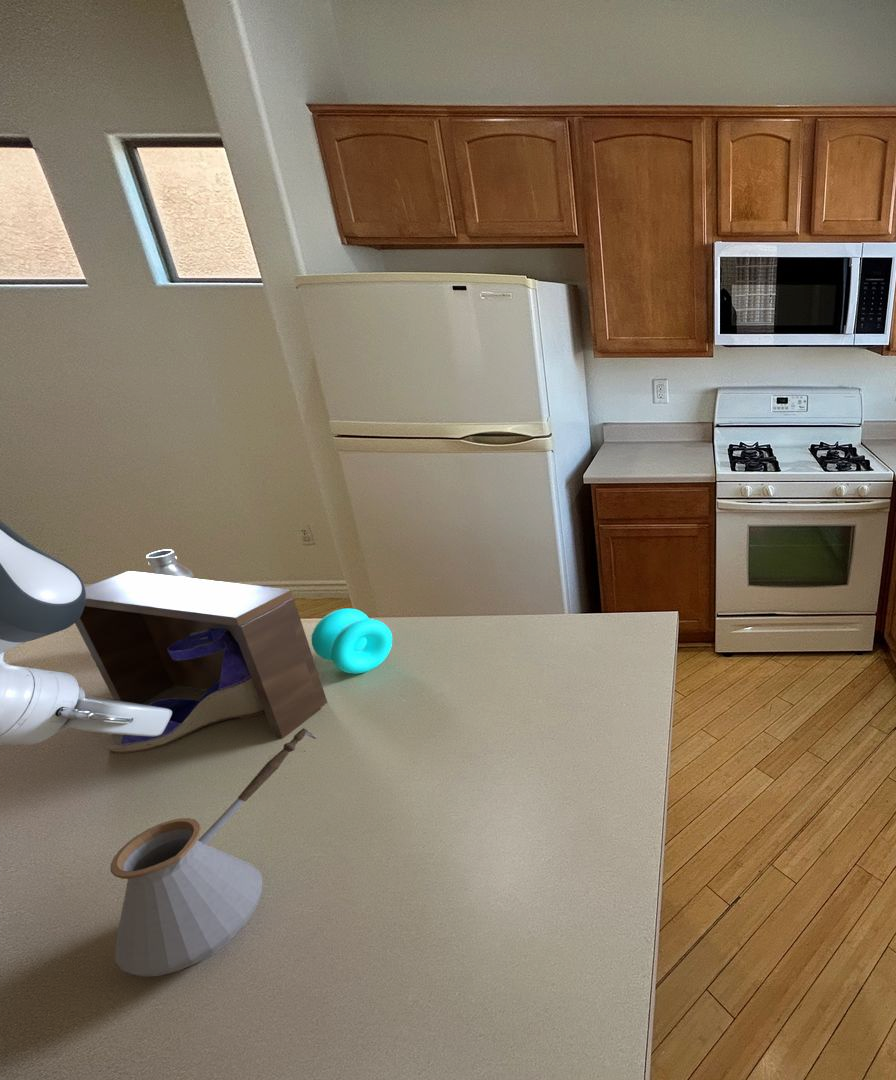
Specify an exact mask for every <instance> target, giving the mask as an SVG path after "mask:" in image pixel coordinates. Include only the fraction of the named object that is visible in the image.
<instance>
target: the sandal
mask: <svg viewBox="0 0 896 1080" xmlns="http://www.w3.org/2000/svg"><path fill="white" fill-rule="evenodd" d="M195 634H196V635H195ZM189 636H190V637H187V638H184V639H181V640H179V641H177V642H175V643H173V644H172V645H170V646H169V647H168V649H167V650H168V652H169V654H170V656H171V658H172V659H173V660H178V661H179V660H187V659H193V658H197V657H202V656H205V655H209V654H212V653H215V652H218V651H220V650H222V649H224V648H225V650H224V659H223V665H222V673H221V679H220V681H219V682H217V683H216V684H215V685H213V686H212V687H211V688H210V689H209V690H208V691H205V692H204V693H203V695H202V696H201V697H200V698H199V699H190V698H175V697H174V698H173V697H171V698H163V699H162V698H161V699H158V700H155V701H152V702H150V703H149V704H148V705H149V706H155V707H161V708H166V709H170V710H171V711H172V715H171V718H170V720H169V722H168V724H167V726H166V728H165V730H164V731H163V733H162V734H161V735H159V736H154V737H148V736H133V735H120V734H110V736H109V737H108V738H107V739H106V742H105V744H106V747H107V748H108V749H109V750H110V752H112V753H116V754H125V753H135V752H142V751H147V750H151V749H156V748H159V747H162V746H165V745H167V744H169V743H172V742H174V741H176V740H178V739H181V738H182V737H185V736H187V735H189V734H191V733H193V732H196V731H197V730H199V729H201V728H204V727H207V726H209V725H212V724H215V723H218V722H221V721H226V720H230V719H235V718H240V719H247V718H250V717H256V716H259V715H262V714H264V713H265V712H264V709H263V706H262V704H261V701H260V698H259V696H258V693H257V691H256V688H255V685H254V683H253V680H252V678H251V675H250V672H249V670H248V667H247V664H246V662H245V659H244V657H243V654H242V651H241V649H240V646H239V644H238V642H237V641H236V640H235V639H234V637H233V635H232V634H231V632H230V631H229V630H226V629H224V628H217V629H214V628H210V629H207V630H202V631H198V632H194V633H191V634H190V635H189ZM206 636H207V637H206ZM208 641H211V642H209V643H205V642H208ZM202 643H204V644H202ZM199 644H200V645H199ZM190 647H194V648H191V649H187V648H190ZM184 649H186V650H184Z"/></svg>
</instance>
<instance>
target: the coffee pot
mask: <svg viewBox="0 0 896 1080" xmlns="http://www.w3.org/2000/svg"><path fill="white" fill-rule="evenodd" d="M305 736H308V737H309V738H312V739H315V740H317V739H318V738H319V737H318V736H317V735H316V734H314V733H312V732H310V731H308V729H306V728H304V727H303V728H301V729H300V730H299V731H298V732H297V733H295V735H294V736H293V738H292V739H291V740H290V741H288V742H286V743H284V744H283V749H281V750H280V751H279V752H278V753H277V754H276V755H274V756H273V758H271V759H270V760H268V761H267V762H266V763H265V765H264V766H263V767H262V768H261V770H260V771H258V773H257V774H256V775H255V776H254V777H253V779H252V780H251V781H250V783H249V784H248V785H247V786H246V787H245V788H244V789H243V790H242V791H241V793H240V794H239V795H238V796H237V799H236V800H235V801H234V802H233V803H232V804H231V805H230V806H229V807H228V808H227V809H226V810H225V811H224V813H222V814H221V815H220V817H218V819H217V820H215V822H214V823H213V824H211V826H209V828H208V829H207V830H206V831H205V832H204V833H203V834H202V825H201V823H200V822H199V821H198V820H197V819H194V818H190V817H181V818H175V819H171V820H166V821H164V822H161V823H158V824H156V825H154V826H153V827H149V828H148V829H146V830H144V831H142V832H140V833H139V834H137V835H136V836H135V837H133V838H131V839H130V840H129V841H128V842H126V843H125V844H124V845H123V846H122V847H121V848H120V849H119V850H118V851H117V852H116V854H115V855H114V856H113V858H112V860H111V863H110V873H111V875H113V876H114V877H115V878H119V879H122V880H127V883H126V888H125V892H124V893H125V894H124V898H123V899H124V900H123V902H122V903H123V904H122V909H121V914H120V920H119V925H118V928H117V929H118V930H117V933H116V934H117V935H116V940H115V945H114V958H115V959H114V960H115V963H116V964H117V966H118V967H119V969H121V970H122V972H125V973H127V974H131V975H134V976H137V977H160V976H165V975H168V974H172V973H175V972H179V971H181V970H184V969H185V968H190V967H192V966H194V965H196V964H199V963H200V962H203V961H205V960H206V959H208V958H209V957H210V956H213V955H214V954H216V953H217V952H218V951H219V950H221V949H222V948H223V947H225V946H226V945H227V944H228V943H229V942H231V940H233V938H234V937H235V936H236V935H237V934H238V933H239V932H240V930H241V929H242V928H243V927H244V926H245V925H246V923H247V922H248V921H249V919H250V918H251V917H252V916H253V914H254V913H255V910H256V908H257V906H258V904H259V902H260V900H261V895H262V891H263V884H264V879H263V876H262V873H261V871H260V870H259V869H258V868H257V867H255V865H253V864H252V863H251V862H247V861H245V860H244V859H241V858H239V857H236V856H234V855H232V854H229V853H227V852H225V851H223V850H220V849H218V848H217V847H214V846H211V845H210V844H209V843H210V842H211V841H212V840H213V839H214V837H215V836H216V835H217V834H218V833H219V832H220V830H222V828H223V827H224V826H225V825H226V823H228V821H229V820H230V819H231V818H232V817H233V816H234V814H235V813H236V812H237V811H238V810H239V809H240V808H241V806H242V805H243V804H244V803H245V802H247V801H248V800H249V798H251V797H252V795H254V793H255V792H257V790H259V789H260V787H261V786H262V785H263V784H264V783H265V782H267V780H268V779H269V778H270V777H271V776H272V775H273V774H274V773H275V772H277V770H278V769H279V767H280V766H281V765H282V763H283V762H284V760H285V759H286V757H287V756H288V755H289V753H291V752H293V751H295V750H296V745H297V744H298V743H299V742H300V741H301V740H303V739H304V738H305ZM201 834H202V835H201ZM200 836H201V837H200Z"/></svg>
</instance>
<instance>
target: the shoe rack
mask: <svg viewBox="0 0 896 1080" xmlns="http://www.w3.org/2000/svg"><path fill="white" fill-rule="evenodd" d="M194 578H195V577H194ZM194 578H186V577H177V576H168V575H160V574H151V573H150V572H143V571H142V572H141V571H133V570H127V571H125V572H123V573H120V574H117V575H114V576H112V577H108V578H105V579H103V580H100V581H98V582H95V583H93V584H90V585H87V586H85V590H86V602H85V606H84V610H83V612H82V615H81V616H80V618H79V619H78V620H77V621H76V622H75V623H74V625H75V626H76V628H77V630H78V632H79V634H80V636H81V637H82V640H83V642H84V643H85V646H86V648H87V649H88V652H89V654H90V655H91V658H92V659H93V661H94V664H95V665H96V667H97V669H98V671H99V673H100V675H101V677H102V679H103V681H104V683H105V685H106V687H107V689H108V691H109V693H110V695H111V697H112V699H113V700H119V701H125V702H131V703H137V704H143V703H145V702H148V701H149V700H151V699H153V698H154V697H157V696H158V695H160V694H162V693H163V692H165V691H166V690H169V689H170V688H172V687H181V688H189V689H194V690H201V691H205V692H207V691H208V690H209V689H210V688H211V687H212V686H213V685H215V684H216V683H217V682H219V681H220V679H221V673H222V665H223V659H224V650H225V648H224V649H222V650H220V651H218V652H215V653H212V654H209V655H205V656H202V657H197V658H193V659H187V660H179V661H178V660H173V659H172V658H171V656H170V654H169V652H168V650H167V649H168V647H169V646H170V645H172V644H173V643H175V642H177V641H179V640H181V639H184V638H187V637H190V636H189V635H190V634H191V633H194V632H198V631H202V630H207V629H210V628H214V629H217V628H224V629H226V630H229V631H230V632H231V634H232V635H233V637H234V639H235V640H236V641H237V642H238V644H239V646H240V649H241V651H242V654H243V657H244V659H245V662H246V664H247V667H248V670H249V672H250V675H251V678H252V680H253V683H254V685H255V688H256V691H257V693H258V696H259V698H260V701H261V704H262V706H263V709H264V713H265V716H266V719H267V722H268V724H269V727H270V730H271V732H272V735H273V737H274V738H277V739H278V738H279V739H285V737H287V736H288V735H289V734H291V733H292V732H294V730H296V729H297V728H299V727H300V726H301V725H302V724H303V723H305V722H306V721H308V720H309V719H310V718H311V717H313V716H314V715H316V713H318V712H319V711H321V708H323V706H325V705H326V704H328V699H327V696H326V693H325V691H324V688H323V684H322V681H321V678H320V675H319V672H318V669H317V665H316V663H315V659H314V656H313V654H312V650H311V647H310V644H309V641H308V638H307V635H306V632H305V629H304V626H303V623H302V619H301V616H300V614H299V611H298V608H297V605H296V604H297V603H296V601H295V599H294V594H293V592H292V589H289V588H288V589H287V588H279V587H271V586H263V585H256V584H255V585H254V584H245V583H236V582H229V581H219V580H211V579H210V580H209V579H201V578H195V579H194ZM195 635H196V634H195ZM206 637H207V636H206ZM209 642H211V641H208V642H205V643H209ZM202 644H204V643H202ZM199 645H200V644H199ZM191 648H194V647H190V648H187V649H191ZM184 650H186V649H184Z"/></svg>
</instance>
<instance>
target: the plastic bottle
mask: <svg viewBox="0 0 896 1080" xmlns="http://www.w3.org/2000/svg"><path fill="white" fill-rule="evenodd" d="M145 558H146V560H147V562H148V563H147V564H148V566H149V567H151V568H152V569H151V570H150V571H149V573H151V574H160V575H168V576H177V577H186V578H194V579H196V578H195V574H194V573H193V572H192V570H191V569H189V568H187V567H186V566H184V565H182V564H180V563H179V562H177V561H178V557H177V555H176V554H175V551H174V550H173V549H161V550H157V551H153V552H151V553H148V554H146V557H145Z"/></svg>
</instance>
